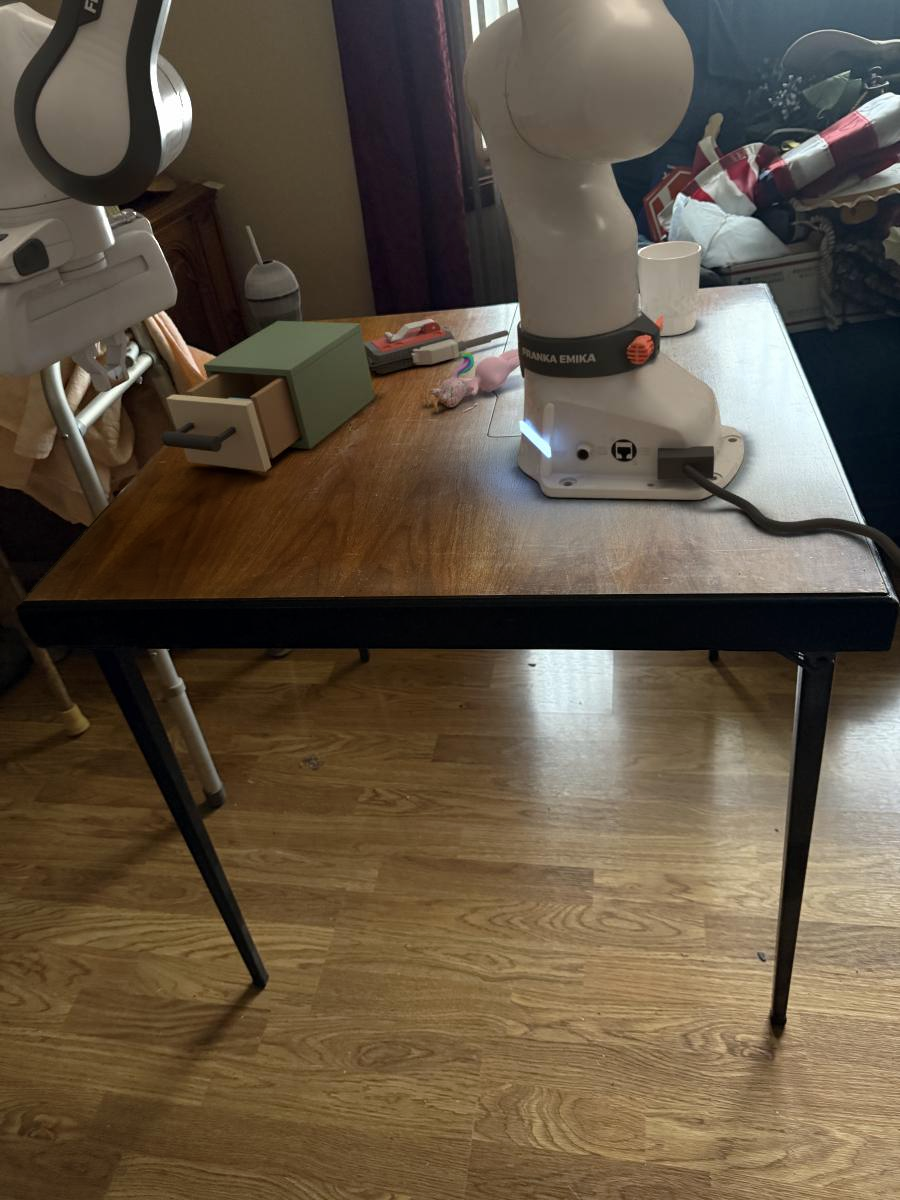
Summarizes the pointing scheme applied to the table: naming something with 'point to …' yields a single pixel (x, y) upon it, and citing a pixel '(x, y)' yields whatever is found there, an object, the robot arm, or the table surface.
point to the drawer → (234, 420)
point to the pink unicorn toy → (486, 376)
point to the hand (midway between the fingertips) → (113, 385)
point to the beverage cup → (272, 291)
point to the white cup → (670, 284)
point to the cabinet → (308, 371)
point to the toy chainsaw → (418, 346)
